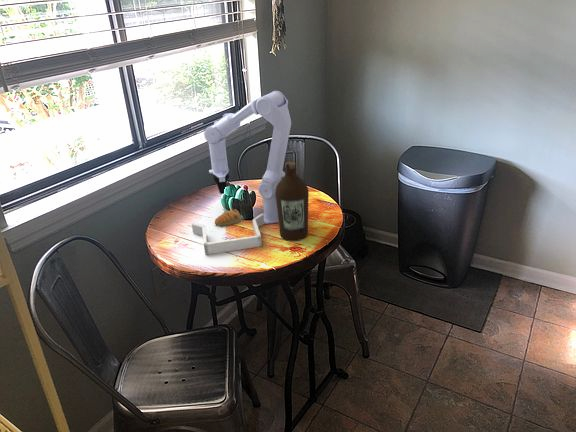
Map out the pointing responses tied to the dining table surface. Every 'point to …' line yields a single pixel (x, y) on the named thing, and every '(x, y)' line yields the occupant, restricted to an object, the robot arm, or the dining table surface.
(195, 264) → the dining table surface
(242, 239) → the box
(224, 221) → the pastry
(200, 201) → the dining table surface
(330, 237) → the dining table surface
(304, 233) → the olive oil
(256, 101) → the robot arm
